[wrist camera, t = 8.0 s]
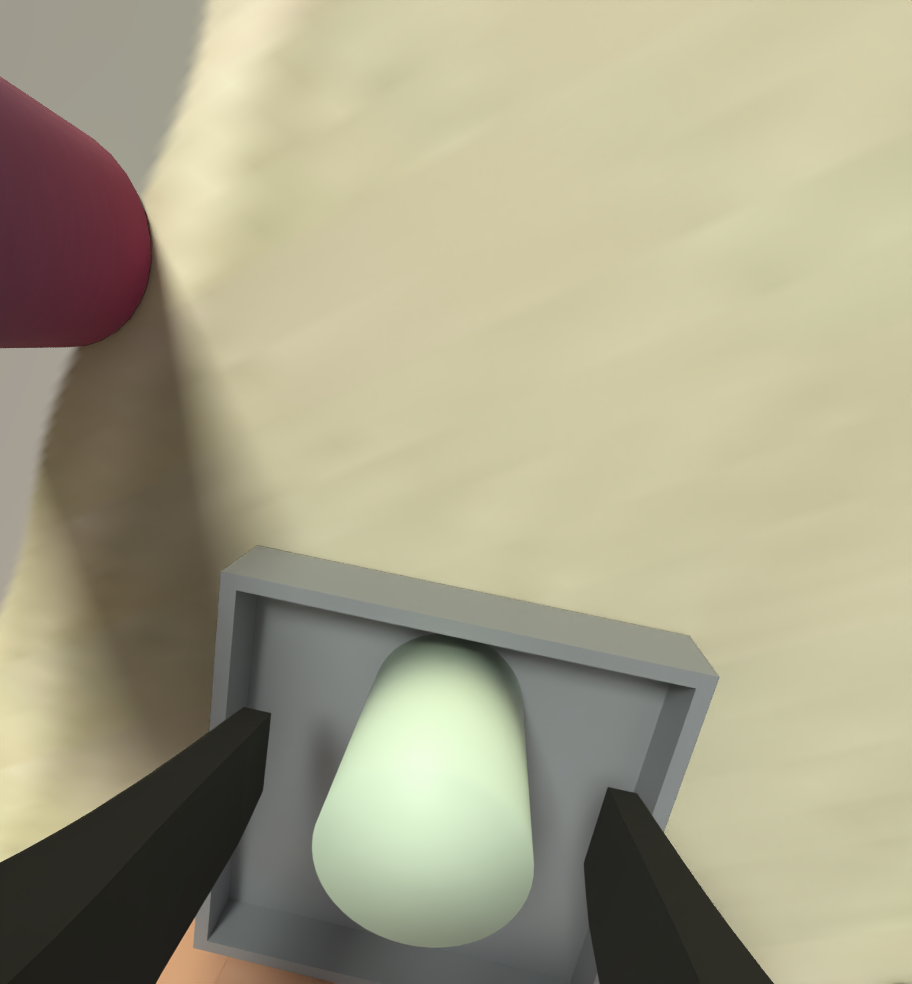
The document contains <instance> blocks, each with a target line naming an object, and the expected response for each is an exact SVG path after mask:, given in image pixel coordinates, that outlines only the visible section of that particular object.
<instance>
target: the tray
mask: <svg viewBox="0 0 912 984" xmlns="http://www.w3.org/2000/svg"><path fill="white" fill-rule="evenodd" d="M437 633H438V634H443V635H448V636H452V637H457V638H462V639H466V640H471V641H476V642H480V643H484V644H485V645H487V646H489V647H490V648H492V649H493V650H495V651H496V652H497V653H498V654H499V655H500V656H502V657H503V658H504V659H505V661H506V662H507V663H508V664H509V665H510V667H511V668H512V670H513V671H514V673H515V675H516V677H517V679H518V681H519V684H520V688H521V691H522V698H523V711H524V726H525V741H526V755H527V770H528V785H529V800H530V814H531V829H532V844H533V858H534V876H533V881H532V886H531V890H530V892H529V895H528V897H527V900H526V901H525V903H524V905H523V906H522V908H521V909H520V911H519V912H518V913H517V914H516V916H515V917H514V918H513V919H512V920H511V921H510V922H509V923H507V924H506V925H505V926H504V927H502V928H501V929H499V930H498V931H497V932H495V933H493V934H491V935H489V936H487V937H485V938H483V939H481V940H478V941H475V942H472V943H469V944H464V945H460V946H453V947H445V948H428V947H417V946H412V945H407V944H402V943H399V942H395V941H392V940H389V939H386V938H384V937H381V936H379V935H377V934H375V933H373V932H371V931H369V930H367V929H365V928H364V927H362V926H361V925H359V924H358V923H356V922H354V921H353V920H352V919H351V918H350V917H348V916H347V915H346V914H345V913H343V912H342V910H341V909H340V908H339V907H338V906H337V905H336V904H335V903H334V902H333V901H332V899H331V898H330V897H329V895H328V894H327V893H326V891H325V889H324V887H323V886H322V884H321V882H320V880H319V877H318V875H317V873H316V870H315V866H314V862H313V855H312V837H313V832H314V828H315V824H316V822H317V820H318V817H319V815H320V812H321V810H322V807H323V805H324V802H325V800H326V798H327V795H328V793H329V790H330V788H331V785H332V783H333V781H334V778H335V776H336V773H337V771H338V768H339V766H340V763H341V761H342V759H343V756H344V754H345V751H346V749H347V746H348V744H349V742H350V739H351V737H352V734H353V732H354V729H355V727H356V725H357V722H358V720H359V717H360V715H361V712H362V710H363V707H364V705H365V703H366V700H367V698H368V695H369V693H370V690H371V688H372V686H373V683H374V681H375V678H376V676H377V673H378V671H379V669H380V667H381V665H382V664H383V662H384V661H385V659H386V658H387V657H388V656H389V655H390V654H391V653H392V652H393V651H394V650H395V649H396V648H398V647H399V646H401V645H402V644H404V643H406V642H408V641H410V640H412V639H414V638H417V637H420V636H424V635H429V634H437ZM718 680H719V676H718V674H717V673H716V672H715V670H714V669H713V667H712V666H711V665H710V663H709V662H708V660H707V659H706V658H705V656H704V655H703V654H702V652H701V651H700V649H699V648H698V647H697V645H696V644H695V642H694V641H693V640H692V638H691V637H690V636H688V635H683V634H678V633H673V632H669V631H664V630H659V629H654V628H649V627H645V626H640V625H635V624H630V623H626V622H621V621H616V620H611V619H606V618H602V617H597V616H592V615H587V614H583V613H578V612H573V611H568V610H563V609H559V608H554V607H549V606H544V605H540V604H535V603H530V602H525V601H520V600H516V599H511V598H506V597H501V596H497V595H492V594H487V593H482V592H477V591H473V590H468V589H463V588H458V587H454V586H449V585H444V584H439V583H434V582H430V581H425V580H420V579H415V578H411V577H406V576H401V575H396V574H392V573H387V572H382V571H377V570H372V569H368V568H363V567H358V566H353V565H349V564H344V563H339V562H334V561H329V560H325V559H320V558H315V557H310V556H306V555H301V554H296V553H291V552H286V551H282V550H277V549H272V548H267V547H263V546H258V545H257V546H256V547H254V548H253V549H252V550H250V551H249V552H247V553H246V554H245V555H243V556H242V557H240V558H239V559H237V560H236V561H235V562H233V563H232V564H230V565H229V566H227V567H226V568H225V569H223V570H222V571H221V575H220V589H219V603H218V616H217V630H216V643H215V657H214V670H213V684H212V698H211V711H210V725H209V732H210V731H211V730H212V729H214V728H215V727H216V726H218V725H219V724H220V723H222V722H223V721H224V720H226V719H227V718H229V717H230V716H231V715H233V714H234V713H235V712H237V711H238V710H240V709H241V708H243V707H246V708H251V709H256V710H260V711H265V712H269V713H271V722H270V731H269V740H268V750H267V759H266V768H265V777H264V787H263V792H262V794H261V797H260V799H259V801H258V803H257V805H256V808H255V810H254V812H253V814H252V816H251V819H250V821H249V823H248V825H247V827H246V829H245V831H244V833H243V835H242V837H241V840H240V842H239V844H238V845H237V847H236V849H235V851H234V852H233V854H232V856H231V857H230V859H229V861H228V863H227V864H226V866H225V868H224V869H223V871H222V873H221V874H220V876H219V878H218V880H217V881H216V883H215V885H214V886H213V888H212V890H211V891H210V893H209V895H208V896H207V898H206V900H205V901H204V903H203V905H202V906H201V908H200V910H199V912H198V913H197V915H196V917H195V928H194V942H193V948H195V949H199V950H203V951H207V952H211V953H216V954H220V955H224V956H228V957H232V958H236V959H240V960H244V961H248V962H252V963H256V964H260V965H264V966H269V967H273V968H277V969H281V970H285V971H289V972H293V973H297V974H301V975H305V976H309V977H313V978H317V979H322V980H326V981H330V982H334V983H338V984H600V983H599V978H598V973H597V967H596V962H595V956H594V951H593V946H592V940H591V934H590V929H589V922H588V912H587V901H586V890H585V876H584V860H585V857H586V854H587V851H588V848H589V845H590V841H591V838H592V835H593V832H594V829H595V826H596V822H597V819H598V816H599V813H600V810H601V807H602V804H603V800H604V797H605V794H606V791H607V788H608V787H611V788H615V789H620V790H624V791H629V792H633V793H637V794H638V795H639V797H640V798H641V800H642V801H643V803H644V804H645V805H646V807H647V808H648V810H649V811H650V813H651V814H652V816H653V817H654V819H655V820H656V822H657V823H658V825H659V826H660V828H661V829H662V831H663V832H664V830H665V827H666V825H667V822H668V819H669V816H670V813H671V811H672V808H673V805H674V802H675V800H676V797H677V794H678V791H679V788H680V786H681V783H682V780H683V777H684V774H685V772H686V769H687V766H688V763H689V761H690V758H691V755H692V752H693V749H694V747H695V744H696V741H697V738H698V735H699V733H700V730H701V727H702V724H703V722H704V719H705V716H706V713H707V710H708V708H709V705H710V702H711V699H712V696H713V694H714V691H715V688H716V685H717V683H718Z"/></svg>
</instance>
